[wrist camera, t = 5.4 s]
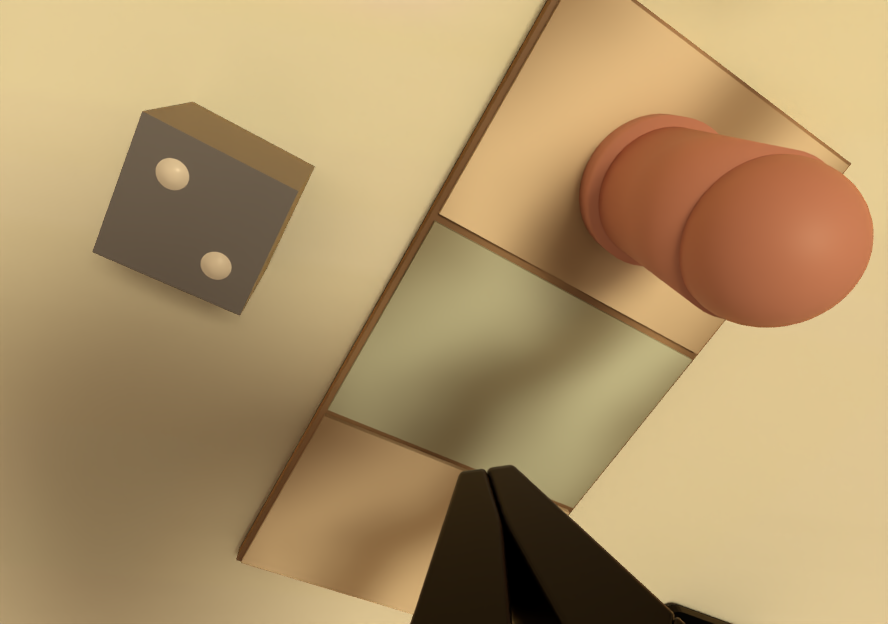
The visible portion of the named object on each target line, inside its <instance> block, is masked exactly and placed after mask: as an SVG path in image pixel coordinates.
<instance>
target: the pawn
mask: <svg viewBox="0 0 888 624" xmlns="http://www.w3.org/2000/svg"><path fill="white" fill-rule="evenodd" d="M579 205H580V212H581V216H582V219H583V222H584V225H585V227H586V228H587V230H588V232H589V234H590V235H591V236H592V237H593V239H594V240H595V241H596V242H597V243H598V244H599V245H601V246H602V247H603V248H604V249H606V250H607V251H608V252H609V253H610V254H612V255H613V256H615V257H616V258H618V259H620V260H622V261H624V262H626V263H629V264H632V265H637V266H643V267H645V268H646V269H647V270H648V271H650V272H651V273H652V274H654V275H655V276H656V277H658V278H659V279H660V280H662V281H663V282H664V283H666V284H667V285H668V286H670V287H671V288H672V289H674V290H675V291H676V292H677V293H679V294H680V295H681V296H683V297H684V298H685V299H687V300H688V301H689V302H691V303H692V304H693V305H695V306H696V307H697V308H699V309H700V310H702V311H703V312H705V313H707V314H709V315H711V316H714V317H718V318H721V319H725V320H728V321H731V322H734V323H737V324H741V325H746V326H753V327H782V326H788V325H792V324H797V323H801V322H804V321H807V320H810V319H812V318H814V317H816V316H818V315H820V314H822V313H824V312H826V311H827V310H829V309H831V308H832V307H834V306H835V305H836V304H838V303H839V302H840V301H841V300H842V299H844V298H845V297H846V296H847V295H848V294H849V293H850V292H851V290H852V289H853V288H854V287H855V285H856V284H857V283H858V281H859V280H860V278H861V277H862V275H863V273H864V271H865V269H866V267H867V265H868V262H869V260H870V256H871V252H872V246H873V223H872V218H871V215H870V212H869V209H868V206H867V204H866V202H865V200H864V198H863V196H862V195H861V193H860V192H859V190H858V189H857V188H856V186H855V185H854V184H853V183H852V182H851V181H850V180H849V179H848V178H846V177H845V176H844V175H843V174H842V173H841V172H839V171H838V170H836V169H834V168H833V167H831V166H829V165H827V164H826V163H824V162H823V161H822V160H821V159H819V158H817V157H816V156H814V155H812V154H809V153H807V152H804V151H800V150H795V149H790V148H785V147H780V146H775V145H770V144H765V143H760V142H755V141H750V140H745V139H740V138H735V137H730V136H725V135H719V134H718V133H717V132H716V131H715V130H714V129H713V128H711V127H710V126H708V125H707V124H705V123H703V122H701V121H698V120H696V119H693V118H688V117H683V116H677V115H671V114H650V115H646V116H641V117H638V118H635V119H633V120H630V121H628V122H627V123H625V124H623V125H621V126H620V127H618V128H617V129H615V130H614V131H613V132H611V133H610V134H609V135H608V136H607V137H606V138H605V139H604V140H603V141H602V142H601V143H600V144H599V145H598V147H597V148H596V150H595V151H594V152H593V154H592V155H591V157H590V159H589V161H588V163H587V165H586V167H585V170H584V172H583V176H582V179H581V184H580V190H579Z"/></svg>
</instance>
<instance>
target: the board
mask: <svg viewBox="0 0 888 624" xmlns="http://www.w3.org/2000/svg"><path fill="white" fill-rule="evenodd" d="M650 114H671V115H677V116H683V117H688V118H693V119H696V120H698V121H701V122H703V123H705V124H707V125H708V126H710V127H711V128H713V129H714V130H715V131H716V132H717V133H718V134H719V135H725V136H730V137H735V138H740V139H745V140H750V141H755V142H760V143H765V144H770V145H775V146H780V147H785V148H790V149H795V150H800V151H804V152H807V153H809V154H812V155H814V156H816V157H817V158H819V159H821V160H822V161H823V162H824V163H826V164H827V165H829V166H831V167H833V168H834V169H836V170H838V171H839V172H841V173H842V174H843V173H844V172H845V171H846V170H847V168H848V167H849V166H850V165H851V163H850V162H848V161H847V160H846V159H844V158H843V157H842V156H840V155H839V154H838V153H836V152H835V151H834V150H833V149H831V148H830V147H829V146H827V145H826V144H825V143H823V142H822V141H821V140H819V139H818V138H817V137H815V136H814V135H813V134H812V133H810V132H809V131H808V130H806V129H805V128H804V127H802V126H801V125H800V124H798V123H797V122H796V121H794V120H793V119H792V118H791V117H789V116H788V115H787V114H785V113H784V112H783V111H781V110H780V109H779V108H777V107H776V106H775V105H773V104H772V103H771V102H769V101H768V100H767V99H766V98H764V97H763V96H762V95H760V94H759V93H758V92H756V91H755V90H754V89H752V88H751V87H750V86H748V85H747V84H746V83H745V82H743V81H742V80H741V79H739V78H738V77H737V76H735V75H734V74H733V73H731V72H730V71H729V70H727V69H726V68H725V67H723V66H722V65H721V64H720V63H718V62H717V61H716V60H714V59H713V58H712V57H710V56H709V55H708V54H706V53H705V52H704V51H702V50H701V49H700V48H699V47H697V46H696V45H695V44H693V43H692V42H691V41H689V40H688V39H687V38H685V37H684V36H683V35H681V34H680V33H679V32H677V31H676V30H675V29H674V28H672V27H671V26H670V25H668V24H667V23H666V22H664V21H663V20H662V19H660V18H659V17H658V16H656V15H655V14H654V13H653V12H651V11H650V10H649V9H647V8H646V7H645V6H643V5H642V4H641V3H639V2H638V1H637V0H547V2H546V4H545V5H544V7H543V9H542V11H541V13H540V14H539V16H538V18H537V20H536V21H535V23H534V25H533V27H532V29H531V30H530V32H529V34H528V36H527V37H526V39H525V41H524V43H523V45H522V46H521V48H520V50H519V52H518V54H517V55H516V57H515V59H514V61H513V62H512V64H511V66H510V68H509V70H508V71H507V73H506V75H505V77H504V78H503V80H502V82H501V84H500V86H499V87H498V89H497V91H496V93H495V94H494V96H493V98H492V100H491V102H490V103H489V105H488V107H487V109H486V111H485V112H484V114H483V116H482V118H481V119H480V121H479V123H478V125H477V127H476V128H475V130H474V132H473V134H472V135H471V137H470V139H469V141H468V143H467V144H466V146H465V148H464V150H463V151H462V153H461V155H460V157H459V159H458V160H457V162H456V164H455V166H454V167H453V169H452V171H451V173H450V175H449V176H448V178H447V180H446V182H445V184H444V185H443V187H442V189H441V191H440V192H439V194H438V196H437V198H436V200H435V201H434V203H433V205H432V207H431V208H430V210H429V212H428V214H427V216H426V217H425V219H424V221H423V223H422V224H421V226H420V228H419V230H418V232H417V233H416V235H415V237H414V239H413V241H412V242H411V244H410V246H409V248H408V249H407V251H406V253H405V255H404V257H403V258H402V260H401V262H400V264H399V265H398V267H397V269H396V271H395V273H394V274H393V276H392V278H391V280H390V281H389V283H388V285H387V287H386V289H385V290H384V292H383V294H382V296H381V298H380V299H379V301H378V303H377V305H376V306H375V308H374V310H373V312H372V314H371V315H370V317H369V319H368V321H367V322H366V324H365V326H364V328H363V330H362V331H361V333H360V335H359V337H358V338H357V340H356V342H355V344H354V346H353V347H352V349H351V351H350V353H349V354H348V356H347V358H346V360H345V362H344V363H343V365H342V367H341V369H340V371H339V372H338V374H337V376H336V378H335V379H334V381H333V383H332V385H331V387H330V388H329V390H328V392H327V394H326V395H325V397H324V399H323V401H322V403H321V404H320V406H319V408H318V410H317V411H316V413H315V415H314V417H313V419H312V420H311V422H310V424H309V426H308V428H307V429H306V431H305V433H304V435H303V436H302V438H301V440H300V442H299V444H298V445H297V447H296V449H295V451H294V452H293V454H292V456H291V458H290V460H289V461H288V463H287V465H286V467H285V468H284V470H283V472H282V474H281V476H280V477H279V479H278V481H277V483H276V484H275V486H274V488H273V490H272V492H271V493H270V495H269V497H268V499H267V501H266V502H265V504H264V506H263V508H262V509H261V511H260V513H259V515H258V517H257V518H256V520H255V522H254V524H253V525H252V527H251V529H250V531H249V533H248V534H247V536H246V538H245V540H244V541H243V543H242V545H241V547H240V549H239V552H238V555H237V559H236V560H238V561H241V563H244V564H247V565H250V566H254V567H257V568H260V569H264V570H267V571H270V572H274V573H277V574H280V575H284V576H287V577H290V578H294V579H297V580H300V581H304V582H307V583H310V584H314V585H317V586H320V587H324V588H327V589H330V590H334V591H337V592H340V593H344V594H347V595H350V596H354V597H357V598H360V599H364V600H367V601H370V602H374V603H377V604H380V605H384V606H387V607H390V608H394V609H397V610H400V611H404V612H407V613H410V614H414V611H415V608H416V605H417V602H418V598H419V595H420V592H421V589H422V586H423V583H424V580H425V577H426V574H427V571H428V568H429V565H430V562H431V559H432V555H433V552H434V549H435V546H436V543H437V540H438V537H439V534H440V531H441V528H442V525H443V522H444V519H445V516H446V512H447V509H448V506H449V503H450V500H451V497H452V494H453V491H454V488H455V485H456V482H457V479H458V476H459V474H460V473H461V472H462V471H467V470H475V469H484V470H486V472H487V471H488V469H489V468H491V467H496V466H504V465H513V466H515V467H516V468H517V469H518V470H519V471H520V472H521V473H523V474H524V475H525V476H526V477H527V478H528V479H529V480H530V481H531V482H532V483H533V484H534V485H536V486H537V487H538V488H539V489H540V490H541V491H542V492H543V493H544V494H545V495H546V496H547V497H549V498H550V499H551V500H552V501H553V502H554V503H555V504H556V505H557V506H558V507H559V508H560V509H562V510H563V511H564V512H565V513H566V514H567V515H569V514H570V513H571V511H572V510H573V509H574V508H575V506H576V505H577V504H578V503H579V501H580V500H581V499H582V498H583V496H584V495H585V494H586V493H587V491H588V490H589V489H590V488H591V486H592V485H593V484H594V483H595V481H596V480H597V479H598V478H599V476H600V475H601V474H602V473H603V472H604V470H605V469H606V468H607V467H608V465H609V464H610V463H611V462H612V460H613V459H614V458H615V457H616V455H617V454H618V453H619V452H620V450H621V449H622V448H623V447H624V445H625V444H626V443H627V442H628V440H629V439H630V438H631V437H632V435H633V434H634V433H635V432H636V431H637V429H638V428H639V427H640V426H641V424H642V423H643V422H644V421H645V419H646V418H647V417H648V416H649V414H650V413H651V412H652V411H653V409H654V408H655V407H656V406H657V404H658V403H659V402H660V401H661V399H662V398H663V397H664V396H665V394H666V393H667V392H668V391H669V390H670V388H671V387H672V386H673V385H674V383H675V382H676V381H677V380H678V378H679V377H680V376H681V375H682V373H683V372H684V371H685V370H686V368H687V367H688V366H689V365H690V363H691V362H692V361H693V360H694V358H695V357H696V356H697V355H698V353H699V352H700V351H701V350H702V349H703V347H704V346H705V345H706V344H707V342H708V341H709V340H710V339H711V337H712V336H713V335H714V334H715V332H716V331H717V330H718V329H719V327H720V326H721V325H722V324H723V322H724V321H725V319H721V318H718V317H714V316H711V315H709V314H707V313H705V312H703V311H702V310H700V309H699V308H697V307H696V306H695V305H693V304H692V303H691V302H689V301H688V300H687V299H685V298H684V297H683V296H681V295H680V294H679V293H677V292H676V291H675V290H674V289H672V288H671V287H670V286H668V285H667V284H666V283H664V282H663V281H662V280H660V279H659V278H658V277H656V276H655V275H654V274H652V273H651V272H650V271H648V270H647V269H646V268H645V267H643V266H637V265H632V264H629V263H626V262H624V261H622V260H620V259H618V258H616V257H615V256H613V255H612V254H610V253H609V252H608V251H607V250H606V249H604V248H603V247H602V246H601V245H599V244H598V243H597V242H596V241H595V240H594V239H593V237H592V236H591V235H590V234H589V232H588V230H587V228H586V227H585V225H584V222H583V219H582V216H581V212H580V205H579V190H580V184H581V179H582V176H583V172H584V170H585V167H586V165H587V163H588V161H589V159H590V157H591V155H592V154H593V152H594V151H595V150H596V148H597V147H598V145H599V144H600V143H601V142H602V141H603V140H604V139H605V138H606V137H607V136H608V135H609V134H610V133H611V132H613V131H614V130H615V129H617V128H618V127H620V126H621V125H623V124H625V123H627V122H628V121H630V120H633V119H635V118H638V117H641V116H646V115H650Z"/></svg>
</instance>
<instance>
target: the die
mask: <svg viewBox="0 0 888 624" xmlns="http://www.w3.org/2000/svg"><path fill="white" fill-rule="evenodd" d="M314 167H315V166H313V165H311V164H309V163H307V162H305V161H303V160H302V159H300V158H298V157H296V156H294V155H292V154H290V153H288V152H287V151H285V150H283V149H281V148H279V147H277V146H275V145H273V144H271V143H270V142H268V141H266V140H264V139H262V138H260V137H258V136H256V135H255V134H253V133H251V132H249V131H247V130H245V129H243V128H241V127H239V126H238V125H236V124H234V123H232V122H230V121H228V120H226V119H224V118H222V117H221V116H219V115H217V114H215V113H213V112H211V111H209V110H207V109H206V108H204V107H202V106H200V105H198V104H196V103H194V102H189V103H184V104H179V105H173V106H168V107H162V108H157V109H152V110H146V111H142V114H141V117H140V119H139V122H138V125H137V128H136V131H135V134H134V136H133V139H132V142H131V145H130V148H129V150H128V153H127V156H126V159H125V162H124V165H123V167H122V170H121V173H120V176H119V179H118V181H117V184H116V187H115V190H114V193H113V196H112V198H111V201H110V204H109V207H108V210H107V212H106V215H105V218H104V221H103V224H102V227H101V229H100V232H99V235H98V238H97V241H96V243H95V246H94V249H93V253H96V254H98V255H100V256H103V257H105V258H107V259H110V260H112V261H114V262H117V263H119V264H121V265H124V266H126V267H128V268H130V269H133V270H135V271H137V272H140V273H142V274H144V275H147V276H149V277H151V278H154V279H156V280H158V281H161V282H163V283H165V284H168V285H170V286H172V287H175V288H177V289H179V290H182V291H184V292H186V293H189V294H191V295H193V296H196V297H198V298H200V299H203V300H205V301H207V302H210V303H212V304H214V305H216V306H219V307H221V308H223V309H226V310H228V311H230V312H233V313H235V314H237V315H241V313H242V311H243V309H244V307H245V306H246V304H247V302H248V300H249V299H250V297H251V295H252V293H253V292H254V290H255V288H256V286H257V285H258V283H259V281H260V279H261V278H262V276H263V274H264V272H265V270H266V269H267V266H268V264H269V262H270V260H271V258H272V256H273V254H274V252H275V250H276V247H277V245H278V243H279V241H280V239H281V237H282V235H283V233H284V231H285V228H286V226H287V224H288V222H289V220H290V218H291V216H292V214H293V212H294V209H295V207H296V205H297V203H298V201H299V199H300V197H301V195H302V193H303V190H304V188H305V186H306V184H307V182H308V180H309V178H310V176H311V174H312V172H313V169H314Z"/></svg>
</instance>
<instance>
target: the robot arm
mask: <svg viewBox="0 0 888 624" xmlns="http://www.w3.org/2000/svg"><path fill="white" fill-rule="evenodd" d="M410 624H729V623H726V622H724V621H721V620H718V619H715V618H713V617H710V616H707V615H704V614H702V613H699V612H696V611H693V610H691V609H688V608H685V607H682V606H679V605H671V606H668V607H667V606H666V605H664V604H663V603H662V602H661V601H660V600H659V599H658V598H657V597H656V596H655V595H654V594H653V593H651V592H650V591H649V590H648V589H647V588H646V587H645V586H644V585H643V584H642V583H641V582H640V581H638V580H637V579H636V578H635V577H634V576H633V575H632V574H631V573H630V572H629V571H628V570H627V569H625V568H624V567H623V566H622V565H621V564H620V563H619V562H618V561H617V560H616V559H615V558H614V557H612V556H611V555H610V554H609V553H608V552H607V551H606V550H605V549H604V548H603V547H602V546H601V545H599V544H598V543H597V542H596V541H595V540H594V539H593V538H592V537H591V536H590V535H589V534H588V533H586V532H585V531H584V530H583V529H582V528H581V527H580V526H579V525H578V524H577V523H576V522H575V521H573V520H572V519H571V518H570V517H569V516H568V515H567V514H566V513H565V512H564V511H563V510H562V509H560V508H559V507H558V506H557V505H556V504H555V503H554V502H553V501H552V500H551V499H550V498H549V497H547V496H546V495H545V494H544V493H543V492H542V491H541V490H540V489H539V488H538V487H537V486H536V485H534V484H533V483H532V482H531V481H530V480H529V479H528V478H527V477H526V476H525V475H524V474H523V473H521V472H520V471H519V470H518V469H517V468H516V467H515V466H513V465H504V466H496V467H491V468H489V469H488V471H487V472H486V470H484V469H475V470H467V471H462V472H461V473H460V474H459V476H458V479H457V482H456V485H455V488H454V491H453V494H452V497H451V500H450V503H449V506H448V509H447V512H446V516H445V519H444V522H443V525H442V528H441V531H440V534H439V537H438V540H437V543H436V546H435V549H434V552H433V555H432V559H431V562H430V565H429V568H428V571H427V574H426V577H425V580H424V583H423V586H422V589H421V592H420V595H419V598H418V602H417V605H416V608H415V611H414V614H413V617H412V620H411V623H410Z"/></svg>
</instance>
